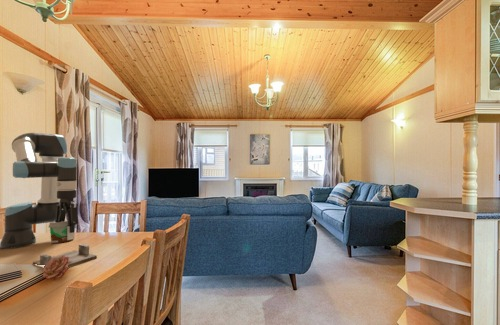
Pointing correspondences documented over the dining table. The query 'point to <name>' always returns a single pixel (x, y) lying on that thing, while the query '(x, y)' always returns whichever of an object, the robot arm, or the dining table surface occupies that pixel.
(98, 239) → the dining table surface
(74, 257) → the base
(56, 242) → the food container
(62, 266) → the flower
